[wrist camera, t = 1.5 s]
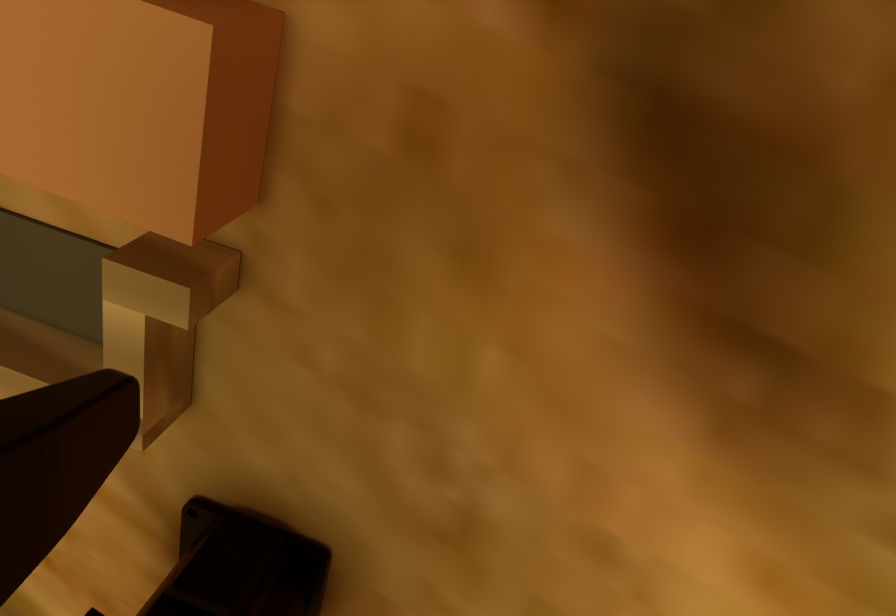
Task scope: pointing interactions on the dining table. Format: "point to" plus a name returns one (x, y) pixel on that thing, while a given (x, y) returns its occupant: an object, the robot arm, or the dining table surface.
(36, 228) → the mat
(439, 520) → the dining table surface
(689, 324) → the dining table surface
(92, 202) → the block
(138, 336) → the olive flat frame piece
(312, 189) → the dining table surface
